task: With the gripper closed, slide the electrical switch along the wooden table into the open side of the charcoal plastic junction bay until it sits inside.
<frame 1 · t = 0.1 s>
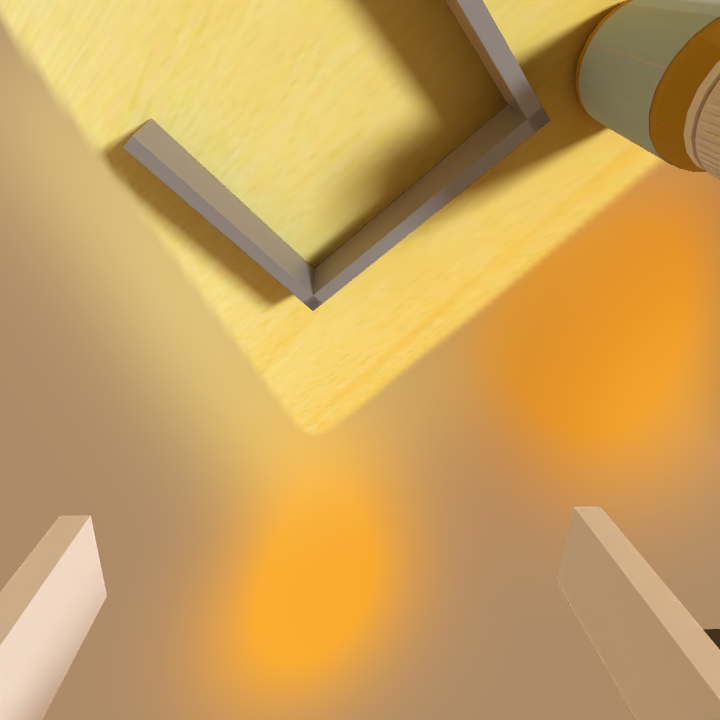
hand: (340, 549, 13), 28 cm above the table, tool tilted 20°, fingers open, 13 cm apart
junction bay: (336, 117, 32), on the table
bottle: (625, 61, 31), on the table
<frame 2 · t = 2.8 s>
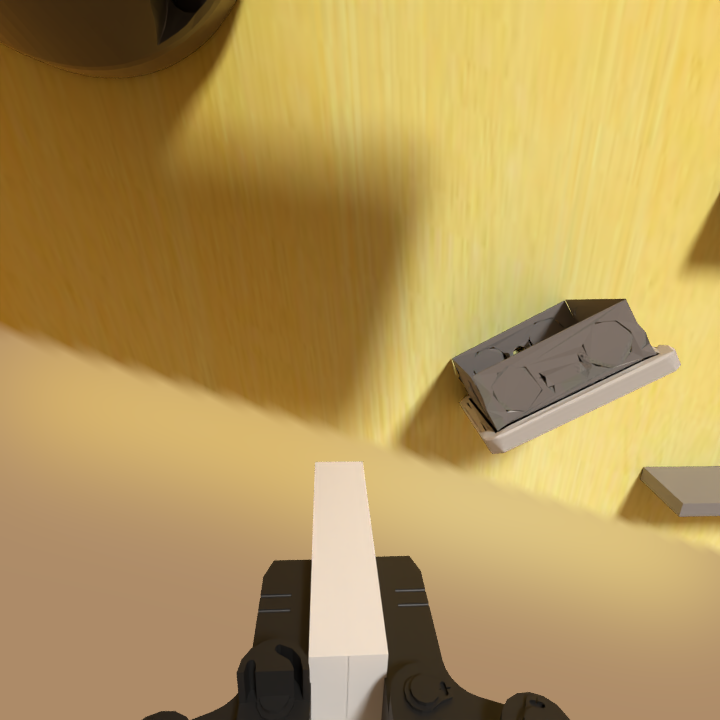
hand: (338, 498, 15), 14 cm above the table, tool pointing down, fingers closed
electrical switch: (508, 343, 30), on the table
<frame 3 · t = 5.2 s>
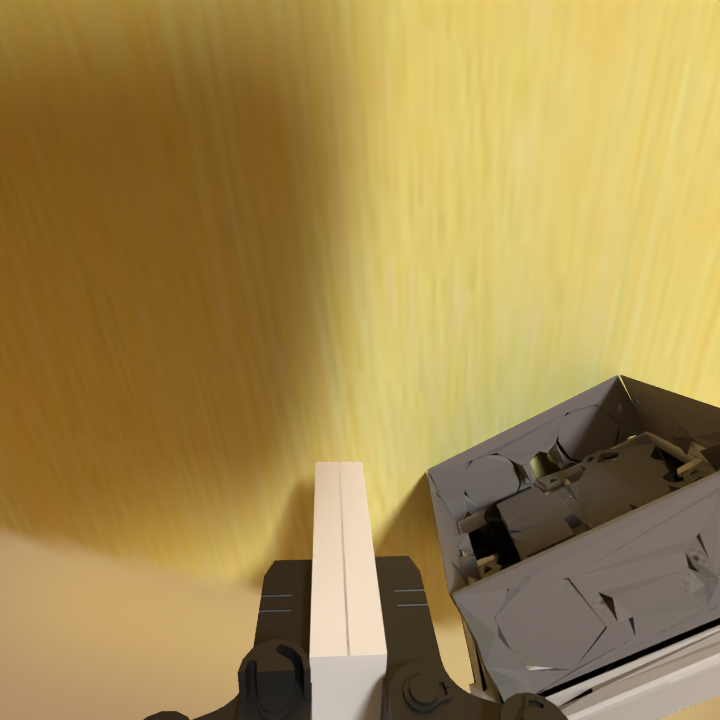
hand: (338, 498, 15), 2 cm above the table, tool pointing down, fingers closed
electrical switch: (522, 444, 18), on the table, touching gripper
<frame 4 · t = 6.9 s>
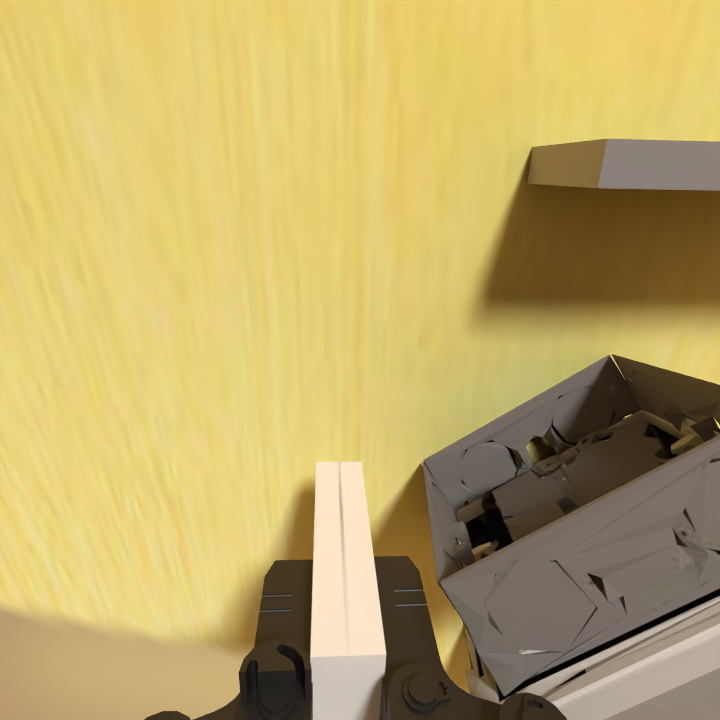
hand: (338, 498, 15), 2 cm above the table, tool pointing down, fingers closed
junction bay: (696, 439, 18), on the table
electrical switch: (517, 430, 18), on the table, touching gripper
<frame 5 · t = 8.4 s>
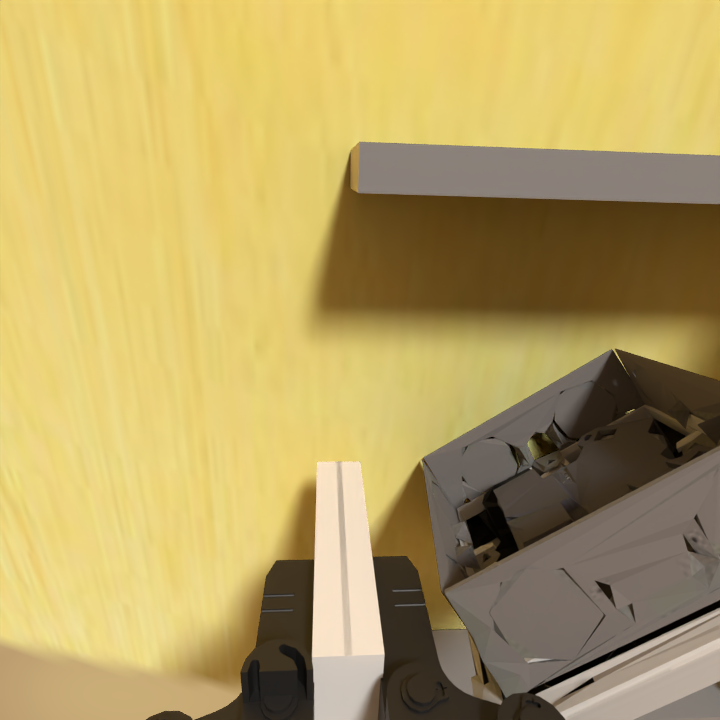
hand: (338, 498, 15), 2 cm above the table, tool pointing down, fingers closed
junction bay: (559, 451, 18), on the table
electrical switch: (518, 426, 17), on the table, touching gripper
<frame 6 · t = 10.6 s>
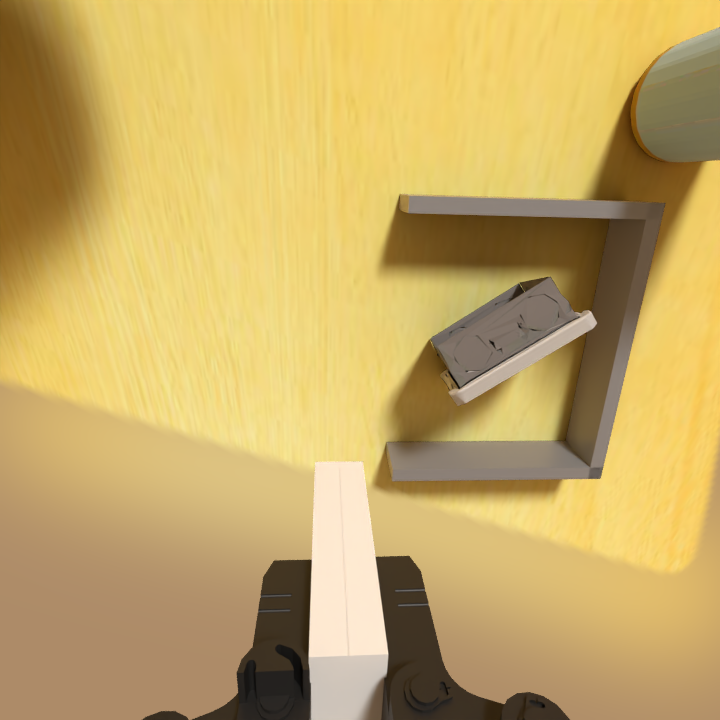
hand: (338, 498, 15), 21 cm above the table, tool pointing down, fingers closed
junction bay: (497, 336, 36), on the table
electrical switch: (476, 323, 36), on the table
bottle: (674, 105, 32), on the table
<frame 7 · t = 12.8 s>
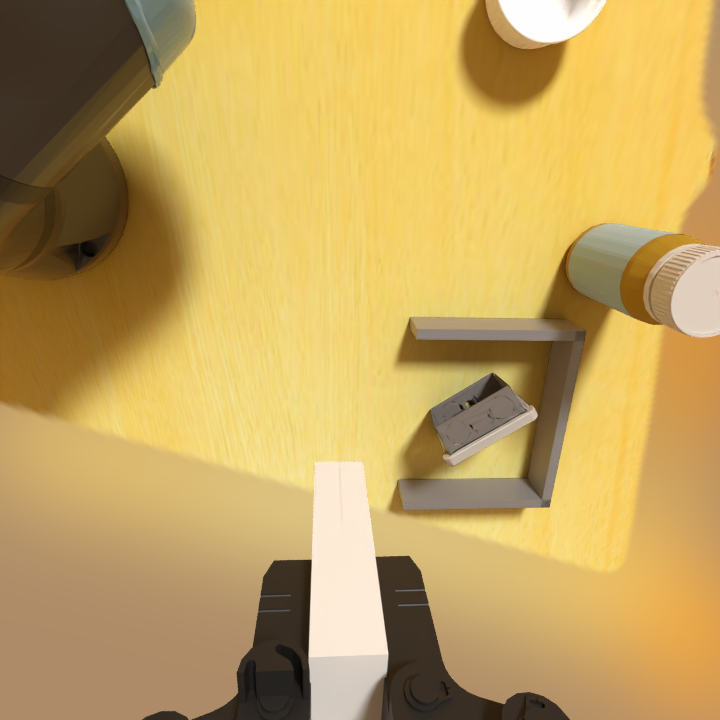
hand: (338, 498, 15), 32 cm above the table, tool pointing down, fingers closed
junction bay: (477, 407, 51), on the table
electrical switch: (463, 398, 51), on the table
bottle: (596, 259, 47), on the table
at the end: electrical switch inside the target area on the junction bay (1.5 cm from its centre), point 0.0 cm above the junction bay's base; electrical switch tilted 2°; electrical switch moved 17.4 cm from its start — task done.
